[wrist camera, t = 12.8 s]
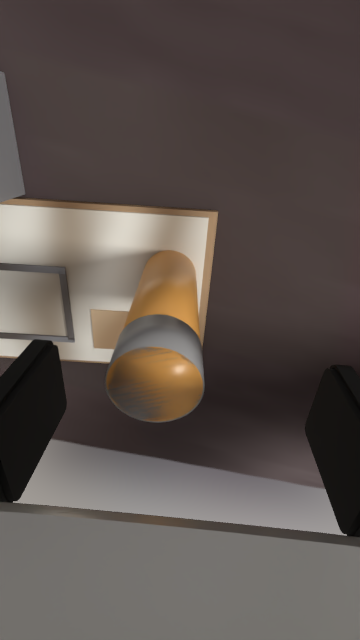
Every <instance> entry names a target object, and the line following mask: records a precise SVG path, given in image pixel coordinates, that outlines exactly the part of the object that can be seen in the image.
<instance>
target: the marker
mask: <svg viewBox="0 0 360 640" xmlns="http://www.w3.org/2000/svg"><path fill="white" fill-rule="evenodd" d="M204 387H205V384H204V369H203V355H202V345H201V342H200V329H199V313H198V297H197V281H196V271H195V267H194V265H193V263H192V262H191V260H190V259H189V258H188V257H187V256H185V255H184V254H182V253H180V252H177V251H173V250H166V251H161V252H158V253H156V254H154V255H153V256H152V257H151V258H150V259H149V260H148V261H147V263H146V265H145V268H144V270H143V273H142V276H141V279H140V282H139V285H138V288H137V290H136V293H135V296H134V299H133V302H132V305H131V308H130V310H129V313H128V316H127V319H126V322H125V325H124V328H123V330H122V332H121V334H120V335H119V338H118V341H117V343H116V346H115V349H114V352H113V355H112V357H111V360H110V363H109V366H108V369H107V371H106V375H105V389H106V392H107V395H108V397H109V398H110V400H111V401H112V403H113V404H114V405H115V406H116V407H117V408H118V409H119V410H120V411H122V412H123V413H125V414H127V415H128V416H130V417H133V418H135V419H138V420H142V421H146V422H168V421H173V420H177V419H179V418H182V417H184V416H186V415H187V414H189V413H190V412H192V411H193V410H194V409H195V408H196V407H197V406H198V404H199V403H200V401H201V399H202V397H203V394H204Z"/></svg>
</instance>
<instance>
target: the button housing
mask: <svg viewBox="0 0 360 640" xmlns="http://www.w3.org/2000/svg"><path fill="white" fill-rule="evenodd" d="M24 194H25V189H24V183H23V177H22V172H21V166H20V160H19V154H18V149H17V143H16V137H15V131H14V126H13V120H12V114H11V108H10V103H9V97H8V91H7V85H6V80H5V74H4V73H3V72H1V71H0V203H1V202H4V201H7V200H10V199H13V198H16V197H19V196H21V195H24Z"/></svg>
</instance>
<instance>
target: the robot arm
mask: <svg viewBox="0 0 360 640" xmlns="http://www.w3.org/2000/svg"><path fill="white" fill-rule="evenodd" d="M66 404H67V402H66V395H65V389H64V382H63V376H62V369H61V363H60V356H59V350H58V346H57V345H54V344H53V342H52V341H51V340H40V339H34V340H33V341H32V342H31V343H30V344H29V345H28V346H27V347H26V348H25V350H24V351H23V352H22V353H21V354H20V355H19V356H18V358H17V359H16V360H15V361H14V362H13V363H12V364H11V366H10V367H9V368H8V369H7V370H6V371H5V372H4V374H3V375H2V376H1V377H0V640H360V378H359V376H358V375H357V373H356V372H355V371H354V369H353V368H352V367H351V366H342V365H332V366H331V367H330V369H328V368H327V369H326V370H325V371H324V374H323V377H322V379H321V382H320V385H319V388H318V391H317V393H316V396H315V399H314V402H313V404H312V407H311V410H310V413H309V416H308V418H307V421H306V425H305V432H306V436H307V438H308V441H309V444H310V447H311V450H312V452H313V455H314V458H315V461H316V464H317V466H318V469H319V472H320V475H321V478H322V480H323V483H324V486H325V489H326V492H327V494H328V497H329V500H330V502H331V505H332V508H333V511H334V514H335V516H336V519H337V522H338V525H339V527H340V530H341V531H342V533H344V534H347V536H343V535H335V534H327V533H319V532H309V531H300V530H290V529H280V528H271V527H262V526H251V525H243V524H233V523H223V522H213V521H202V520H193V519H183V518H172V517H163V516H153V515H142V514H132V513H122V512H111V511H100V510H90V509H79V508H68V507H58V506H47V505H33V504H20V503H13V501H17V500H19V499H20V497H21V495H22V493H23V492H24V490H25V488H26V486H27V484H28V482H29V480H30V478H31V476H32V474H33V472H34V470H35V468H36V466H37V464H38V463H39V461H40V459H41V457H42V455H43V453H44V451H45V449H46V447H47V445H48V443H49V441H50V439H51V437H52V436H53V434H54V432H55V430H56V428H57V426H58V424H59V422H60V420H61V418H62V416H63V414H64V412H65V410H66Z"/></svg>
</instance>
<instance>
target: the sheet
mask: <svg viewBox="0 0 360 640" xmlns="http://www.w3.org/2000/svg"><path fill="white" fill-rule="evenodd" d="M217 217H218V211H217V210H202V209H187V208H172V207H157V206H141V205H126V204H111V203H96V202H80V201H65V200H50V199H35V198H19V197H16V198H13V199H10V200H7V201H4V202H1V203H0V357H5V358H18V356H19V355H20V354H21V353H22V352H23V351H24V350H25V348H26V347H27V346H28V345H29V344H30V343H31V342H32V341H33V340H34V339H40V340H51V341H52V342H53V344H54V345H57V346H58V350H59V356H60V361H75V362H92V363H110V360H111V357H112V355H113V352H114V349H115V346H116V343H117V341H118V338H119V335H120V334H121V332H122V330H123V328H124V325H125V322H126V319H127V316H128V313H129V310H130V308H131V305H132V302H133V299H134V296H135V293H136V290H137V288H138V285H139V282H140V279H141V276H142V273H143V270H144V268H145V265H146V263H147V261H148V260H149V259H150V258H151V257H152V256H153V255H154V254H156V253H158V252H161V251H166V250H173V251H177V252H180V253H182V254H184V255H185V256H187V257H188V258H189V259H190V260H191V262H192V263H193V265H194V267H195V271H196V281H197V297H198V313H199V329H200V342H201V345H202V347H203V338H204V330H205V321H206V312H207V304H208V295H209V286H210V278H211V269H212V261H213V252H214V243H215V235H216V226H217Z"/></svg>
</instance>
